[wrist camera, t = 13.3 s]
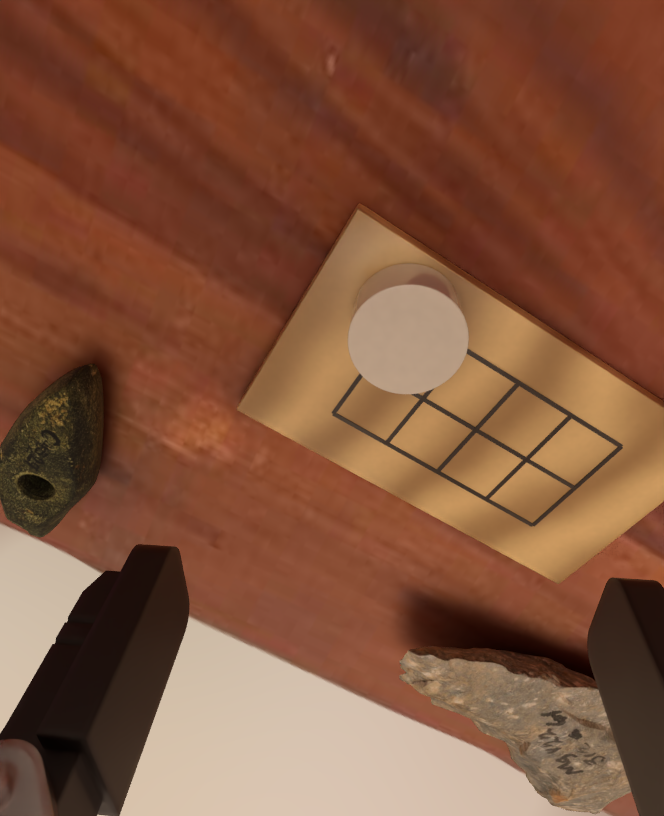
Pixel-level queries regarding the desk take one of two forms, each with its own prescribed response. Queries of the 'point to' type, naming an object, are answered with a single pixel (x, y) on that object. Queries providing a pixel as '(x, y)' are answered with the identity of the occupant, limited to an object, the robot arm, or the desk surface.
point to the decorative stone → (53, 451)
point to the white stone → (407, 329)
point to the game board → (470, 415)
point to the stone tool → (529, 718)
